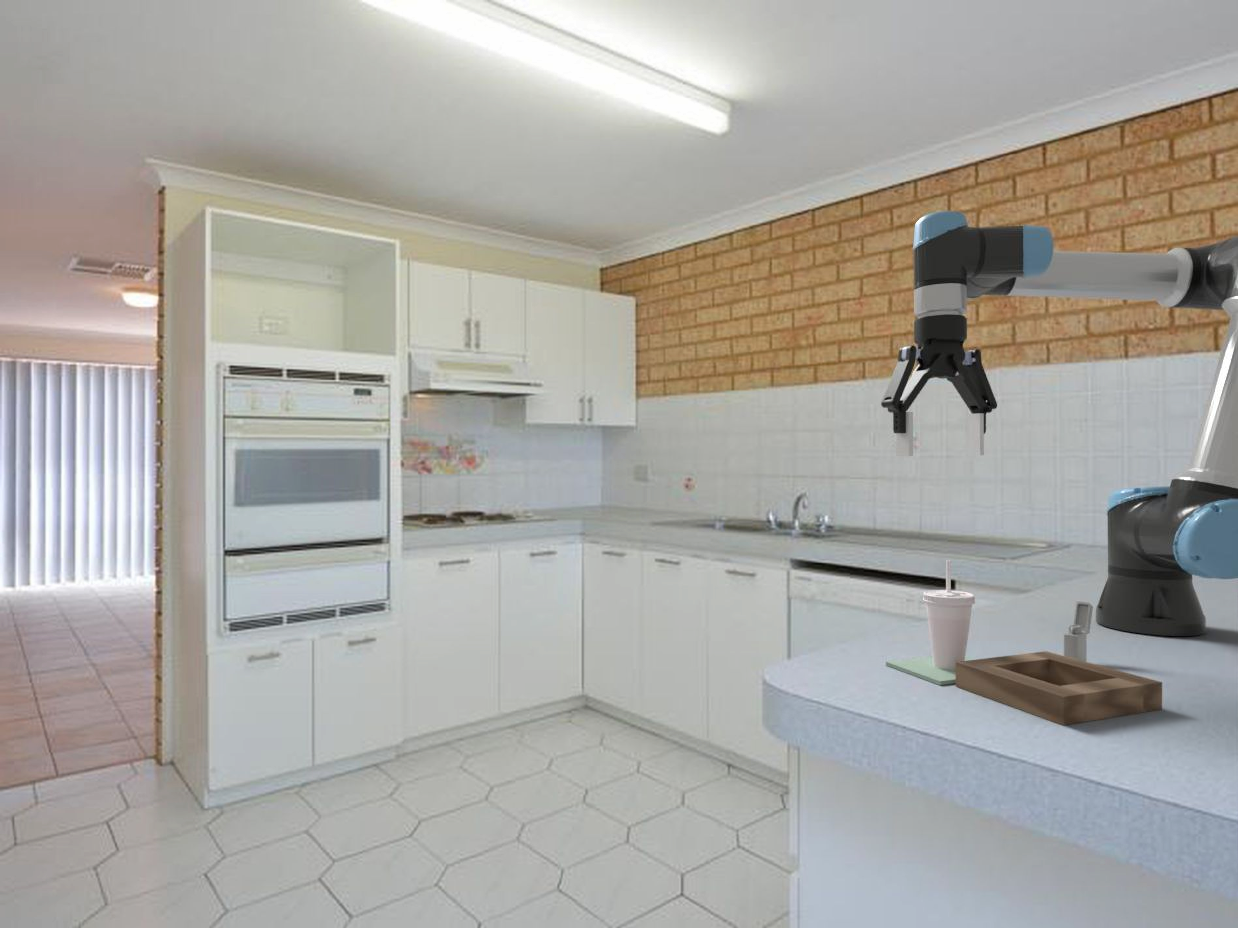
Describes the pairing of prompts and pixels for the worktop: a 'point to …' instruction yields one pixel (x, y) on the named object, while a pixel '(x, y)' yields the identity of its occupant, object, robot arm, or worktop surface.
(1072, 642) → the lighter
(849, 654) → the worktop surface
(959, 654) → the smoothie
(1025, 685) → the caddy
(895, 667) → the mat
